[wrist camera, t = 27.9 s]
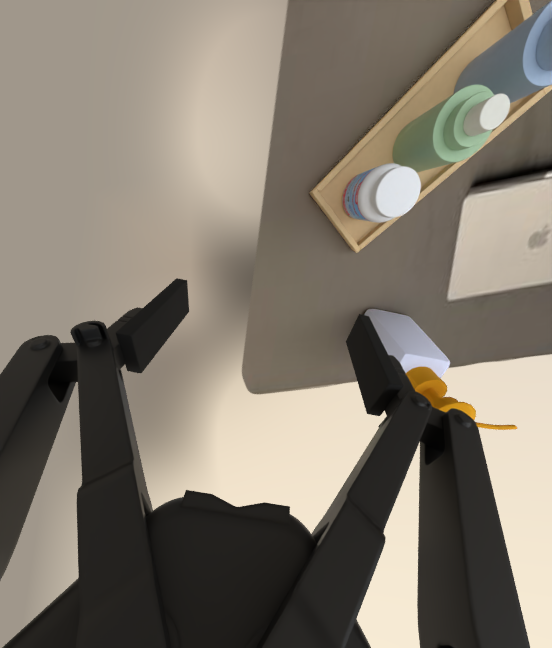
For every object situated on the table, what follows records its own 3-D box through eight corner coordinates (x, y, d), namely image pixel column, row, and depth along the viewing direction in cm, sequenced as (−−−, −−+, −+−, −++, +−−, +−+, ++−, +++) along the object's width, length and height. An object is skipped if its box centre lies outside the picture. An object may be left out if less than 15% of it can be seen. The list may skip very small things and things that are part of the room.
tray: (352, 250, 37) (357, 253, 35) (309, 193, 33) (311, 192, 31) (532, 97, 28) (552, 88, 26) (501, -7, 24) (522, -26, 22)
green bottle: (383, 164, 31) (443, 140, 20) (408, 110, 28) (493, 47, 17) (420, 180, 32) (496, 165, 21) (447, 129, 29) (552, 81, 18)
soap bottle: (407, 357, 47) (500, 462, 28) (347, 345, 46) (399, 447, 26) (431, 318, 43) (561, 411, 23) (365, 304, 42) (443, 390, 22)
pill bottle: (343, 173, 31) (374, 157, 21) (386, 172, 31) (437, 155, 21) (338, 220, 34) (364, 225, 24) (378, 219, 34) (419, 223, 24)
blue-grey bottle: (442, 109, 28) (549, 44, 17) (476, 43, 25) (629, -85, 14) (480, 128, 29) (606, 78, 18) (517, 66, 26) (690, -37, 15)
